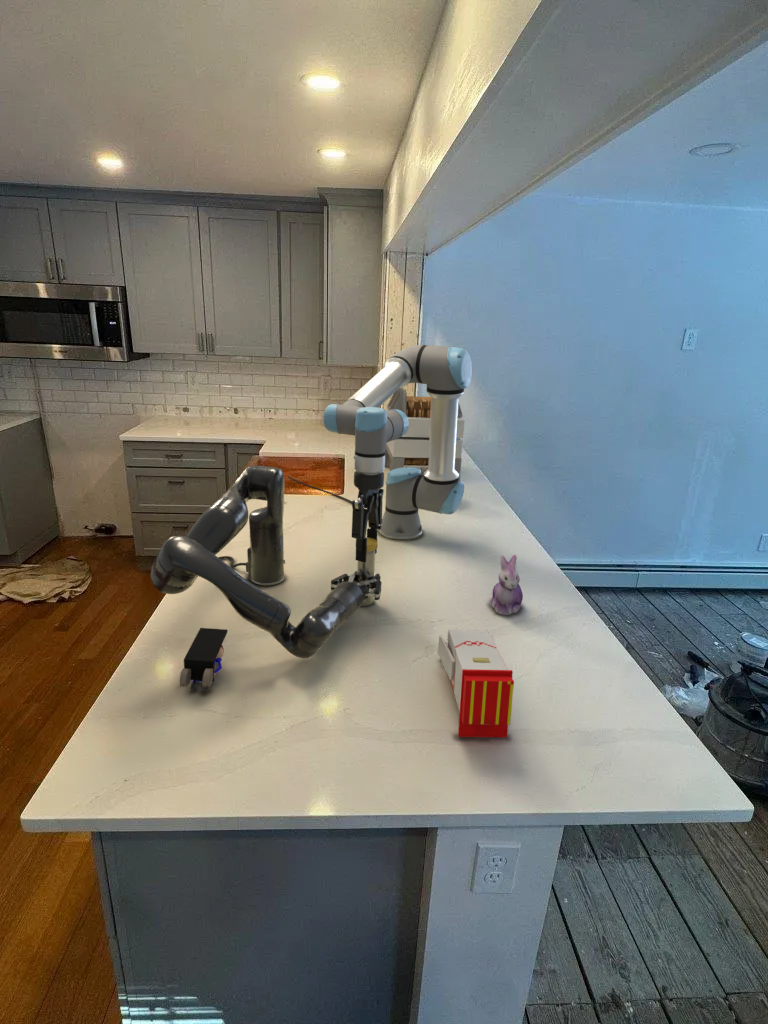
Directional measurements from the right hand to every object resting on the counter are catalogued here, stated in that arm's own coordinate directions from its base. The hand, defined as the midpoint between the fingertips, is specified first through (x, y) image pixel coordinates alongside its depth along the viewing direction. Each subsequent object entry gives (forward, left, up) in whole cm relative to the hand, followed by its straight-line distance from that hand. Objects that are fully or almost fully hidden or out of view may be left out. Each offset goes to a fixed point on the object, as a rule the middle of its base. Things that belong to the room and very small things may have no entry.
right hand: (366, 556), depth 148 cm
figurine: (+25, +29, -13) cm, 41 cm away
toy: (+43, -6, -13) cm, 46 cm away
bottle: (0, 0, -13) cm, 13 cm away
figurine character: (+5, -47, -13) cm, 49 cm away
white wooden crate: (-83, +101, -13) cm, 132 cm away
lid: (0, 0, +4) cm, 4 cm away
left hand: (-1, +2, -7) cm, 7 cm away
